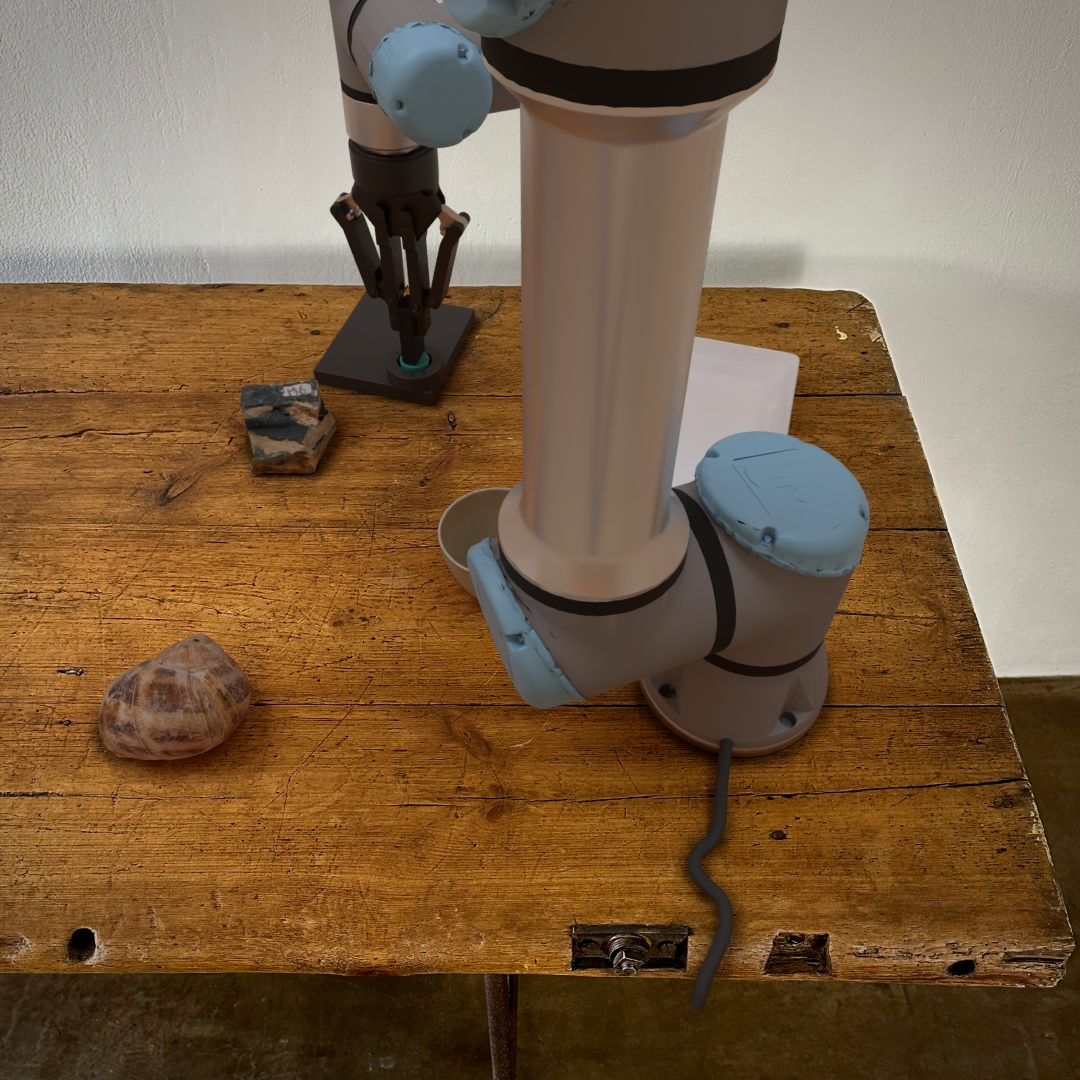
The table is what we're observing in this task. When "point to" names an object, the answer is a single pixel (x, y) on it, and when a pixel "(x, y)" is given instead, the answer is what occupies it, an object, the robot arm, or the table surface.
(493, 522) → the beige bowl
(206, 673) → the seashell
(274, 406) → the rock
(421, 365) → the button
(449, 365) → the black button board
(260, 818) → the table surface
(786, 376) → the tray
